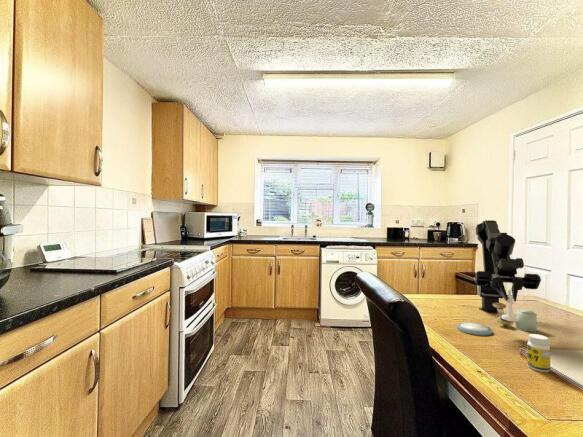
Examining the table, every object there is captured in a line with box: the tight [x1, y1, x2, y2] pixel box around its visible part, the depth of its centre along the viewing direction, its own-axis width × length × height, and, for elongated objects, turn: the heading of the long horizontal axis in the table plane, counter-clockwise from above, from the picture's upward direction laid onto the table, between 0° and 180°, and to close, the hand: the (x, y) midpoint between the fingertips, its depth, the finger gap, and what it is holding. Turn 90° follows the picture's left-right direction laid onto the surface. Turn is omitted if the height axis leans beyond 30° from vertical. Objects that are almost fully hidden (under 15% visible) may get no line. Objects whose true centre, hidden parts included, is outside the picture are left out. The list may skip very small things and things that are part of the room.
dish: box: [456, 322, 493, 337], centre depth 110 cm, size 11×11×1 cm
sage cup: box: [515, 308, 538, 333], centre depth 112 cm, size 6×6×7 cm
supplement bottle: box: [526, 333, 551, 373], centre depth 81 cm, size 5×5×8 cm
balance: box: [493, 301, 512, 325], centre depth 120 cm, size 17×5×6 cm, turn 152°
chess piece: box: [501, 289, 519, 322], centre depth 105 cm, size 5×5×10 cm
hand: (511, 300), depth 103 cm, fingers closed on chess piece
